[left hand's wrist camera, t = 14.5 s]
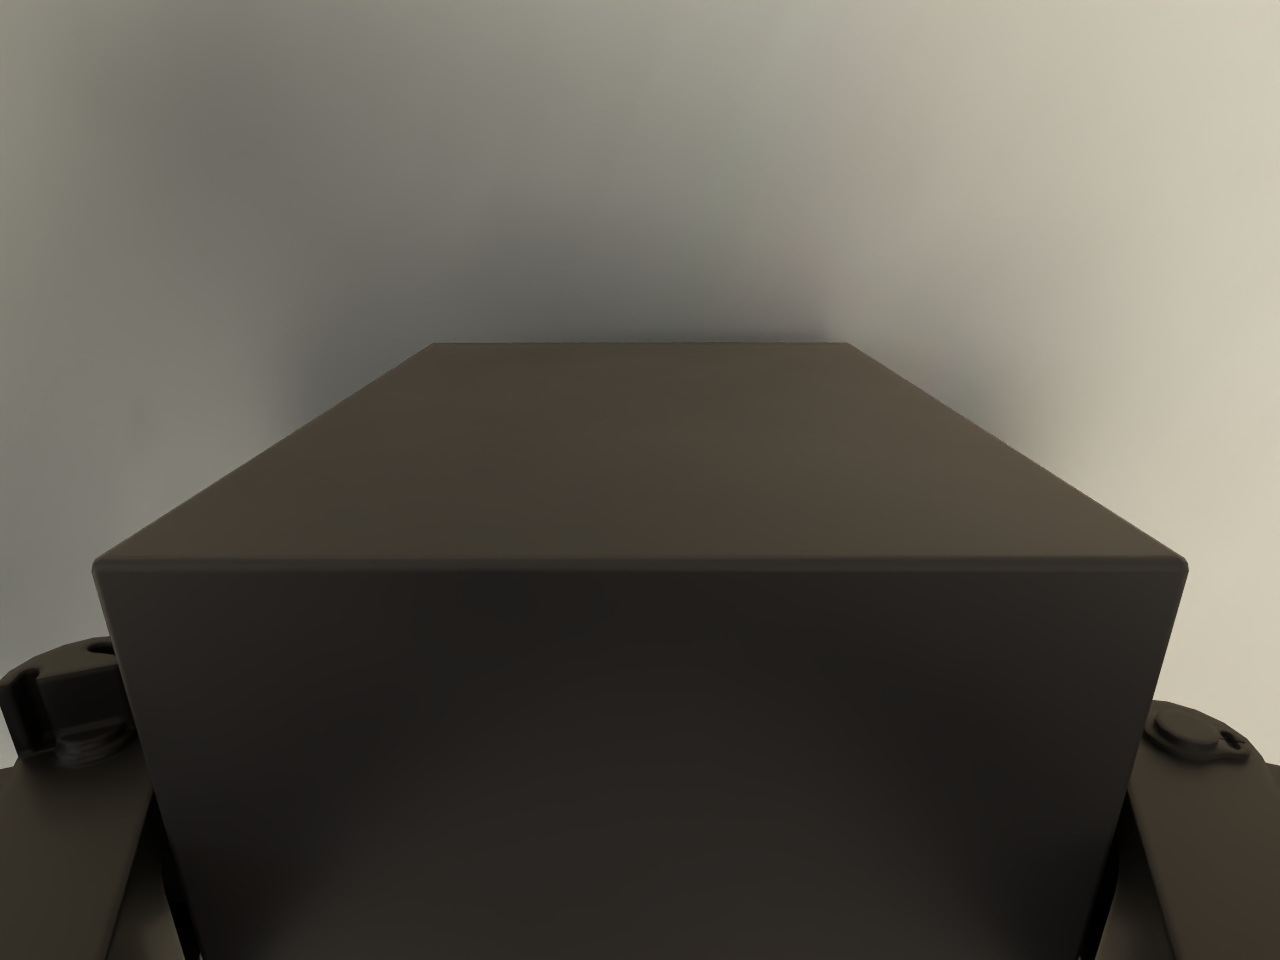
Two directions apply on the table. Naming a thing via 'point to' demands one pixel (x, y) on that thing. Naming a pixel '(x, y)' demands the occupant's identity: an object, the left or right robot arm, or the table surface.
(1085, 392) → the table surface
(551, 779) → the box
